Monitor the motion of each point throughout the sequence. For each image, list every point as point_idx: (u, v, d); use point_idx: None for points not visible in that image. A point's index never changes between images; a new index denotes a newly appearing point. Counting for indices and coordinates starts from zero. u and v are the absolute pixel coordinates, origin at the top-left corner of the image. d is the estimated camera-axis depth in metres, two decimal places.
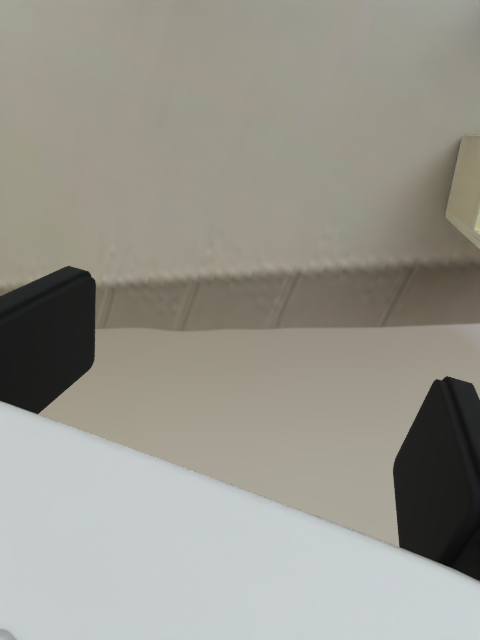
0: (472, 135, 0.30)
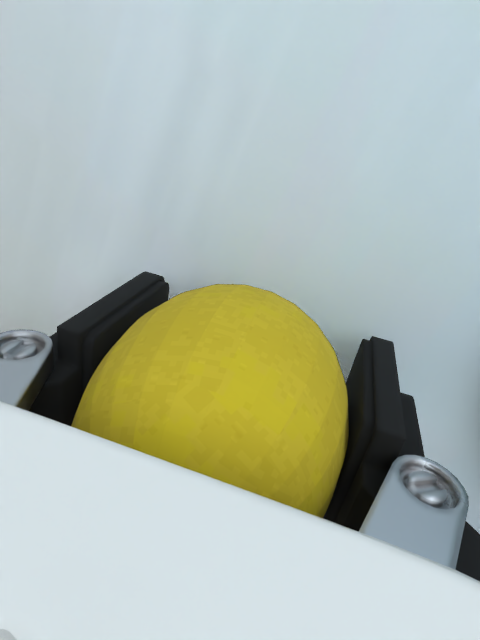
0: None
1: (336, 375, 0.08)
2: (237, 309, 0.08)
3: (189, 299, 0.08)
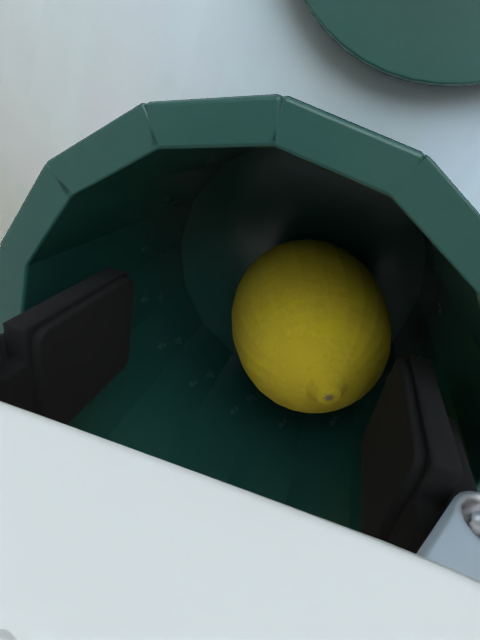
0: None
1: None
2: (329, 255, 0.13)
3: (295, 252, 0.13)
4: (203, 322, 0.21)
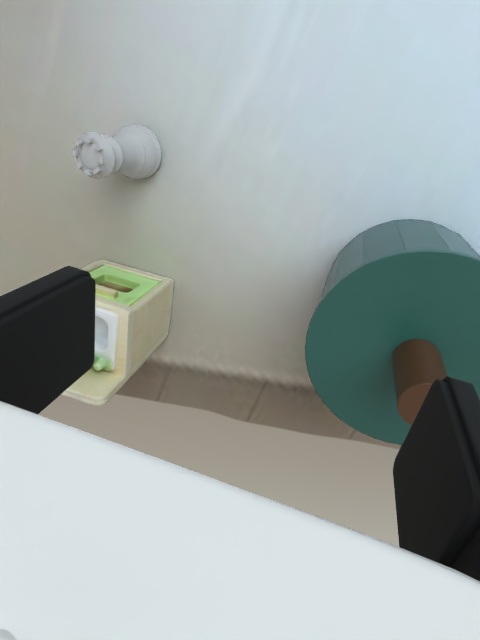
0: None
1: None
2: None
3: None
4: None
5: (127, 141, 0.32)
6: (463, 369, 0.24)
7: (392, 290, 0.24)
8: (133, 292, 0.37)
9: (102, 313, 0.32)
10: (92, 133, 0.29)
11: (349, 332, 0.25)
